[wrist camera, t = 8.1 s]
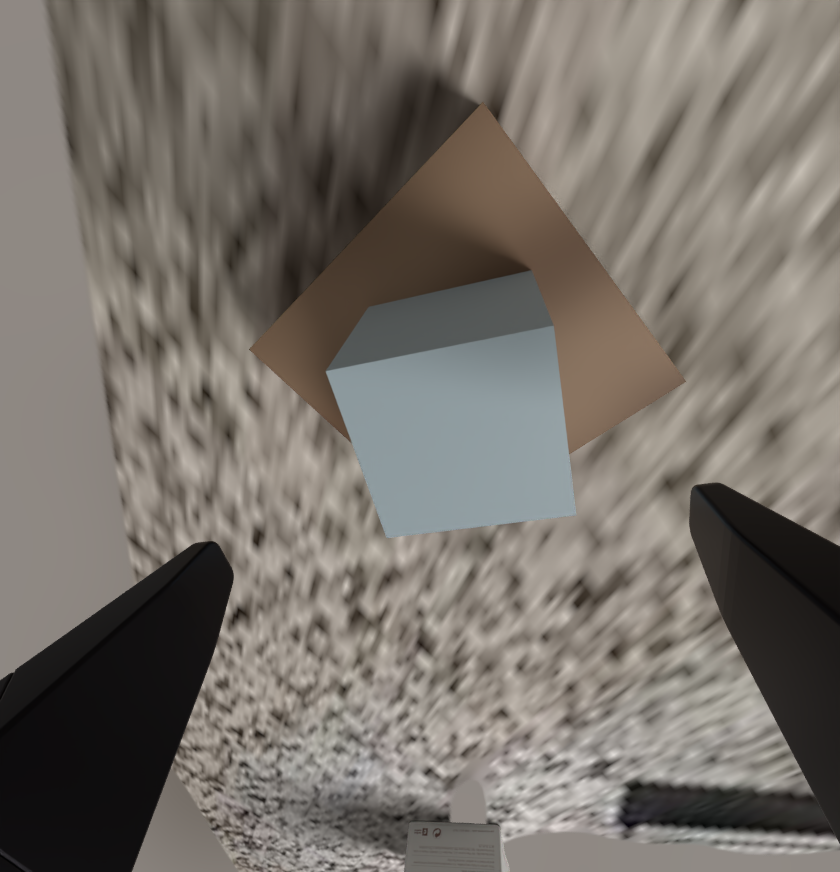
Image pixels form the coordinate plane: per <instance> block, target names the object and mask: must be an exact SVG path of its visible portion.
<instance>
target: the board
mask: <svg viewBox="0 0 840 872" xmlns="http://www.w3.org/2000/svg"><path fill="white" fill-rule="evenodd" d="M530 270H532V272H533V275H534V277H535V280H536V282H537V285H538V287H539V290H540V292H541V295H542V297H543V300H544V302H545V305H546V307H547V310H548V312H549V315H550V317H551V320H552V322H553V325H554V331H555V340H556V348H557V357H558V365H559V374H560V382H561V391H562V399H563V407H564V416H565V424H566V433H567V441H568V450H569V454H570V453H572V452H574V451H575V450H577V449H578V448H580V447H582V446H583V445H585V444H586V443H588V442H590V441H591V440H593V439H595V438H596V437H598V436H599V435H601V434H603V433H604V432H606V431H607V430H609V429H611V428H612V427H614V426H615V425H617V424H619V423H620V422H622V421H623V420H625V419H627V418H628V417H630V416H632V415H633V414H635V413H636V412H638V411H640V410H641V409H643V408H644V407H646V406H648V405H649V404H651V403H652V402H654V401H656V400H657V399H659V398H660V397H662V396H664V395H665V394H667V393H669V392H670V391H672V390H673V389H675V388H677V387H678V386H680V385H681V384H683V383H685V382H686V381H685V379H684V378H683V376H682V375H681V374H680V372H679V371H678V370H677V368H676V367H675V365H674V364H673V363H672V361H671V360H670V359H669V357H668V356H667V354H666V353H665V352H664V350H663V349H662V348H661V346H660V345H659V343H658V342H657V341H656V339H655V338H654V337H653V335H652V334H651V332H650V331H649V330H648V328H647V327H646V326H645V324H644V323H643V321H642V320H641V319H640V317H639V316H638V315H637V313H636V312H635V310H634V309H633V308H632V306H631V305H630V304H629V302H628V301H627V299H626V298H625V297H624V295H623V294H622V292H621V291H620V290H619V288H618V287H617V286H616V284H615V283H614V281H613V280H612V279H611V277H610V276H609V275H608V273H607V272H606V270H605V269H604V268H603V266H602V265H601V264H600V262H599V261H598V259H597V258H596V257H595V255H594V254H593V253H592V251H591V250H590V248H589V247H588V246H587V244H586V243H585V242H584V240H583V239H582V237H581V236H580V235H579V233H578V232H577V231H576V229H575V228H574V226H573V225H572V224H571V222H570V221H569V220H568V218H567V217H566V215H565V214H564V213H563V211H562V210H561V209H560V207H559V206H558V204H557V203H556V202H555V200H554V199H553V198H552V196H551V195H550V193H549V192H548V191H547V189H546V188H545V187H544V185H543V184H542V182H541V181H540V180H539V178H538V177H537V175H536V174H535V173H534V171H533V170H532V169H531V167H530V166H529V164H528V163H527V162H526V160H525V159H524V158H523V156H522V155H521V153H520V152H519V151H518V149H517V148H516V147H515V145H514V144H513V142H512V141H511V140H510V138H509V137H508V136H507V134H506V133H505V131H504V130H503V129H502V127H501V126H500V125H499V123H498V122H497V120H496V119H495V118H494V116H493V115H492V114H491V112H490V111H489V109H488V108H487V107H486V105H485V104H484V103H483V102H482V103H481V104H480V106H479V107H478V108H477V109H476V110H475V111H474V112H473V113H472V114H471V115H470V116H469V117H468V118H467V119H466V120H465V121H464V122H463V124H462V125H461V126H460V127H459V128H458V129H457V130H456V131H455V132H454V133H453V134H452V135H451V136H450V137H449V138H448V139H447V140H446V142H445V143H444V144H443V145H442V146H441V147H440V148H439V149H438V150H437V151H436V152H435V153H434V154H433V155H432V156H431V157H430V158H429V160H428V161H427V162H426V163H425V164H424V165H423V166H422V167H421V168H420V169H419V170H418V171H417V172H416V173H415V174H414V175H413V176H412V178H411V179H410V180H409V181H408V182H407V183H406V184H405V185H404V186H403V187H402V188H401V189H400V190H399V191H398V192H397V193H396V194H395V196H394V197H393V198H392V199H391V200H390V201H389V202H388V203H387V204H386V205H385V206H384V207H383V208H382V209H381V210H380V211H379V212H378V214H377V215H376V216H375V217H374V218H373V219H372V220H371V221H370V222H369V223H368V224H367V225H366V226H365V227H364V228H363V229H362V230H361V232H360V233H359V234H358V235H357V236H356V237H355V238H354V239H353V240H352V241H351V242H350V243H349V244H348V245H347V246H346V247H345V248H344V250H343V251H342V252H341V253H340V254H339V255H338V256H337V257H336V258H335V259H334V260H333V261H332V262H331V263H330V264H329V265H328V266H327V268H326V269H325V270H324V271H323V272H322V273H321V274H320V275H319V276H318V277H317V278H316V279H315V280H314V281H313V282H312V283H311V284H310V286H309V287H308V288H307V289H306V290H305V291H304V292H303V293H302V294H301V295H300V296H299V297H298V298H297V299H296V300H295V301H294V302H293V304H292V305H291V306H290V307H289V308H288V309H287V310H286V311H285V312H284V313H283V314H282V315H281V316H280V317H279V318H278V319H277V320H276V322H275V323H274V324H273V325H272V326H271V327H270V328H269V329H268V330H267V331H266V332H265V333H264V334H263V335H262V336H261V337H260V338H259V340H258V341H257V342H256V343H255V344H254V345H253V346H252V347H251V348H250V349H249V350H250V351H251V352H253V353H254V354H255V355H256V356H257V357H258V358H259V359H260V360H261V361H262V362H263V363H265V364H266V365H267V366H268V367H269V368H270V369H271V370H272V371H273V372H274V373H275V374H277V375H278V376H279V377H280V378H281V379H282V380H283V381H284V382H285V383H286V384H288V385H289V386H290V387H291V388H292V389H293V390H294V391H295V392H296V393H297V394H298V395H300V396H301V397H302V398H303V399H304V400H305V401H306V402H307V403H308V404H309V405H311V406H312V407H313V408H314V409H315V410H316V411H317V412H318V413H319V414H320V415H321V416H323V417H324V418H325V419H326V420H327V421H328V422H329V423H330V424H331V425H332V426H333V427H335V428H336V429H337V430H338V431H339V432H340V433H341V434H342V435H343V436H344V437H346V438H347V439H348V440H349V441H350V442H351V439H350V436H349V434H348V431H347V428H346V425H345V423H344V420H343V417H342V415H341V412H340V409H339V406H338V404H337V401H336V398H335V395H334V393H333V390H332V387H331V385H330V382H329V379H328V376H327V374H326V370H327V368H328V367H329V365H330V364H331V362H332V361H333V359H334V358H335V356H336V355H337V353H338V352H339V350H340V349H341V347H342V346H343V344H344V343H345V341H346V340H347V338H348V337H349V335H350V334H351V332H352V331H353V329H354V328H355V326H356V325H357V323H358V322H359V320H360V319H361V317H362V316H363V314H364V313H365V311H366V310H367V308H368V307H370V306H375V305H379V304H384V303H388V302H392V301H397V300H401V299H406V298H410V297H415V296H419V295H424V294H428V293H432V292H437V291H441V290H446V289H450V288H455V287H459V286H464V285H468V284H472V283H477V282H481V281H486V280H490V279H495V278H499V277H504V276H508V275H512V274H517V273H521V272H526V271H530ZM351 443H352V442H351Z"/></svg>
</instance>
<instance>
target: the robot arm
mask: <svg viewBox="0 0 840 872" xmlns="http://www.w3.org/2000/svg"><path fill="white" fill-rule="evenodd" d="M689 526H690V532H691V536H692V539H693V541H694V544H695V547H696V549H697V552H698V555H699V557H700V560H701V563H702V565H703V568H704V570H705V573H706V576H707V578H708V581H709V584H710V586H711V589H712V592H713V594H714V597H715V600H716V602H717V605H718V607H719V610H720V612H721V615H722V617H723V619H724V621H725V624H726V626H727V628H728V630H729V632H730V634H731V636H732V638H733V639H734V641H735V643H736V645H737V647H738V649H739V651H740V653H741V655H742V657H743V659H744V661H745V663H746V664H747V666H748V668H749V670H750V672H751V674H752V676H753V678H754V680H755V682H756V684H757V686H758V688H759V689H760V691H761V693H762V695H763V697H764V699H765V701H766V703H767V705H768V707H769V709H770V711H771V713H772V714H773V716H774V718H775V720H776V722H777V724H778V726H779V728H780V730H781V732H782V734H783V736H784V738H785V739H786V741H787V743H788V745H789V747H790V749H791V751H792V753H793V755H794V757H795V759H796V761H797V763H798V764H799V766H800V768H801V770H802V772H803V774H804V776H805V778H806V780H807V782H808V784H809V786H810V788H811V789H812V791H813V793H814V795H815V797H816V799H817V801H818V803H819V805H820V807H821V809H822V811H823V813H824V814H825V816H826V818H827V820H828V822H829V824H830V826H831V828H832V830H833V832H834V834H835V836H836V838H837V839H838V841H839V843H840V546H838V545H836V544H834V543H833V542H831V541H829V540H827V539H825V538H823V537H821V536H819V535H818V534H816V533H814V532H812V531H810V530H808V529H806V528H804V527H803V526H801V525H799V524H797V523H795V522H793V521H791V520H789V519H788V518H786V517H784V516H782V515H780V514H778V513H776V512H774V511H773V510H771V509H769V508H767V507H765V506H763V505H761V504H759V503H758V502H756V501H754V500H752V499H750V498H748V497H746V496H744V495H743V494H741V493H739V492H737V491H735V490H733V489H731V488H729V487H728V486H726V485H724V484H721V483H708V484H699V485H695V486H694V487H693V488H692V490H691V497H690V517H689ZM233 579H234V574H233V570H232V567H231V566H230V564H229V562H228V560H227V559H226V557H225V555H224V553H223V551H222V550H221V548H220V546H219V545H218V544H217V543H216V542H214V541H207V542H198V543H195V544H193V545H191V546H190V547H188V548H187V549H185V550H184V551H183V552H181V553H180V554H178V555H177V556H176V557H174V558H173V559H171V560H170V561H168V562H167V563H166V564H164V565H163V566H161V567H160V568H159V569H157V570H156V571H154V572H153V573H151V574H150V575H149V576H147V577H146V578H144V579H143V580H142V581H140V582H139V583H137V584H136V585H135V586H133V587H132V588H130V589H129V590H127V591H126V592H125V593H123V594H122V595H120V596H119V597H118V598H116V599H115V600H113V601H112V602H111V603H109V604H108V605H106V606H105V607H103V608H102V609H101V610H99V611H98V612H96V613H95V614H94V615H92V616H91V617H89V618H88V619H86V620H85V621H84V622H82V623H81V624H79V625H78V626H77V627H75V628H74V629H72V630H71V631H70V632H68V633H67V634H65V635H64V636H62V637H61V638H60V639H58V640H57V641H55V642H54V643H53V644H51V645H50V646H48V647H47V648H45V649H44V650H43V651H41V652H40V653H38V654H37V655H36V656H34V657H33V658H31V659H30V660H29V661H27V662H26V663H24V664H23V665H21V666H20V667H19V668H17V669H16V670H15V672H14V673H10V674H8V675H7V676H6V677H4V678H3V679H1V680H0V872H132V870H133V867H134V865H135V862H136V859H137V857H138V854H139V851H140V849H141V846H142V843H143V841H144V838H145V835H146V832H147V830H148V827H149V824H150V821H151V819H152V816H153V814H154V811H155V809H156V806H157V803H158V801H159V798H160V795H161V793H162V790H163V787H164V785H165V782H166V779H167V777H168V774H169V771H170V769H171V766H172V763H173V761H174V758H175V755H176V753H177V750H178V747H179V745H180V742H181V739H182V737H183V734H184V731H185V729H186V726H187V723H188V721H189V718H190V715H191V713H192V710H193V707H194V705H195V702H196V699H197V697H198V694H199V691H200V689H201V686H202V683H203V681H204V678H205V675H206V673H207V670H208V667H209V665H210V662H211V659H212V656H213V653H214V650H215V647H216V644H217V640H218V637H219V633H220V629H221V625H222V622H223V618H224V614H225V611H226V607H227V603H228V599H229V596H230V592H231V588H232V585H233Z"/></svg>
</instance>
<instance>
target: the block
mask: <svg viewBox="0 0 840 872" xmlns="http://www.w3.org/2000/svg"><path fill="white" fill-rule="evenodd" d="M326 374H327V376H328V379H329V382H330V385H331V387H332V390H333V393H334V395H335V398H336V401H337V404H338V406H339V409H340V412H341V415H342V417H343V420H344V423H345V425H346V428H347V431H348V434H349V436H350V439H351V442H352V445H353V447H354V450H355V453H356V455H357V458H358V461H359V464H360V466H361V469H362V472H363V475H364V477H365V480H366V483H367V485H368V488H369V491H370V494H371V496H372V499H373V502H374V504H375V507H376V510H377V513H378V515H379V518H380V521H381V524H382V526H383V529H384V532H385V534H386V537H387V538H390V537H399V536H407V535H415V534H424V533H432V532H440V531H449V530H457V529H466V528H474V527H482V526H491V525H499V524H507V523H516V522H524V521H533V520H541V519H549V518H558V517H566V516H574V515H576V509H575V501H574V492H573V484H572V475H571V467H570V458H569V450H568V441H567V433H566V424H565V416H564V407H563V399H562V391H561V382H560V374H559V365H558V357H557V348H556V340H555V331H554V325H553V322H552V320H551V317H550V315H549V312H548V310H547V307H546V305H545V302H544V300H543V297H542V295H541V292H540V290H539V287H538V285H537V282H536V280H535V277H534V275H533V272H532V270H530V271H526V272H521V273H517V274H512V275H508V276H504V277H499V278H495V279H490V280H486V281H481V282H477V283H472V284H468V285H464V286H459V287H455V288H450V289H446V290H441V291H437V292H432V293H428V294H424V295H419V296H415V297H410V298H406V299H401V300H397V301H392V302H388V303H384V304H379V305H375V306H370V307H368V308H367V310H366V311H365V313H364V314H363V316H362V317H361V319H360V320H359V322H358V323H357V325H356V326H355V328H354V329H353V331H352V332H351V334H350V335H349V337H348V338H347V340H346V341H345V343H344V344H343V346H342V347H341V349H340V350H339V352H338V353H337V355H336V356H335V358H334V359H333V361H332V362H331V364H330V365H329V367H328V368H327V370H326Z"/></svg>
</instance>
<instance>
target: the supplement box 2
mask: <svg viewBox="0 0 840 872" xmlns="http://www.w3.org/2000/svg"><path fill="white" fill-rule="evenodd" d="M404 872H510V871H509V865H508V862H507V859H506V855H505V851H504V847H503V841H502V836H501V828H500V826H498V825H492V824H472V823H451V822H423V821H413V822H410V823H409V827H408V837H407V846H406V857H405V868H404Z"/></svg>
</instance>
